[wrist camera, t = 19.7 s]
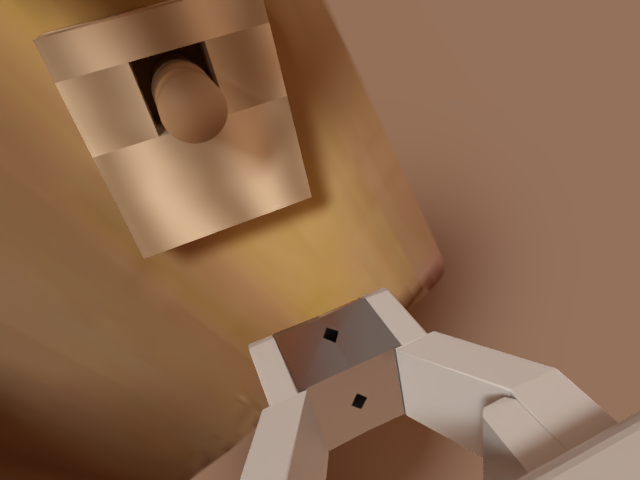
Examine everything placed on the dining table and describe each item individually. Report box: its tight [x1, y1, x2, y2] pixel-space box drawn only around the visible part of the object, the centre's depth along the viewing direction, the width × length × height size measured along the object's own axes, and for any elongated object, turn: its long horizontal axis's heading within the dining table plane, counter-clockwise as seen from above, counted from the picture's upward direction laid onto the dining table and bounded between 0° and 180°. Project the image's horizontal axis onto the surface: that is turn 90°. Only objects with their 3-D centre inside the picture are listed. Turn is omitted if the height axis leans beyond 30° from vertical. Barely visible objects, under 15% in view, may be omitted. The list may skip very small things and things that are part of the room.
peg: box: [151, 55, 228, 144], centre depth 31 cm, size 4×4×10 cm
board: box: [33, 0, 312, 259], centre depth 35 cm, size 14×16×4 cm
